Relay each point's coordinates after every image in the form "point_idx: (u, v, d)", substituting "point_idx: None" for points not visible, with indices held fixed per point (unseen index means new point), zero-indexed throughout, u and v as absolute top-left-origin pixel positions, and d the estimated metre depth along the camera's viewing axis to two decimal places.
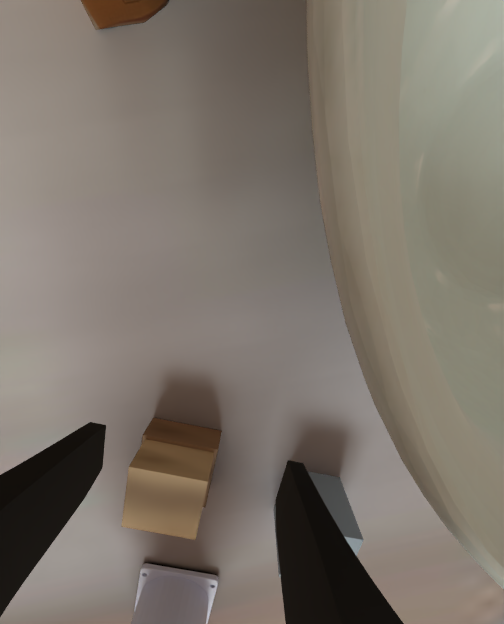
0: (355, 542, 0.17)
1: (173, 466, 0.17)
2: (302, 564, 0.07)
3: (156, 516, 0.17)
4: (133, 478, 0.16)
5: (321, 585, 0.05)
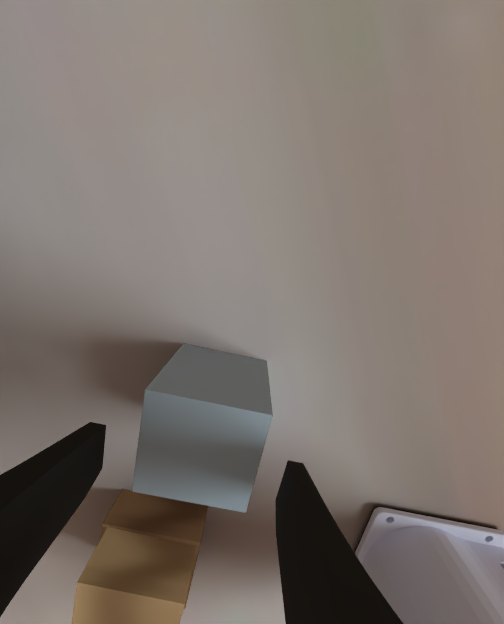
0: (153, 402, 0.09)
1: None
2: (302, 564, 0.07)
3: None
4: None
5: (321, 585, 0.05)
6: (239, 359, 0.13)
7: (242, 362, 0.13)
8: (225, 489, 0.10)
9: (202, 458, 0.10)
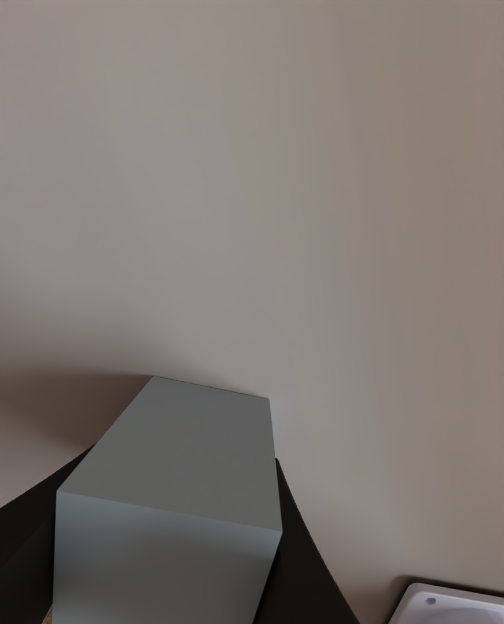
0: (72, 510, 0.05)
1: None
2: None
3: None
4: None
5: (278, 578, 0.05)
6: (230, 400, 0.09)
7: (234, 406, 0.09)
8: None
9: (164, 594, 0.06)
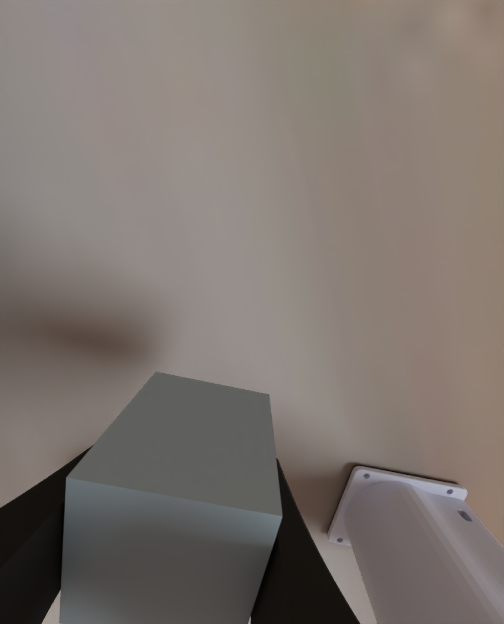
0: (81, 496, 0.05)
1: None
2: None
3: None
4: None
5: (278, 578, 0.05)
6: (231, 395, 0.10)
7: (235, 401, 0.09)
8: (207, 620, 0.06)
9: (168, 578, 0.06)
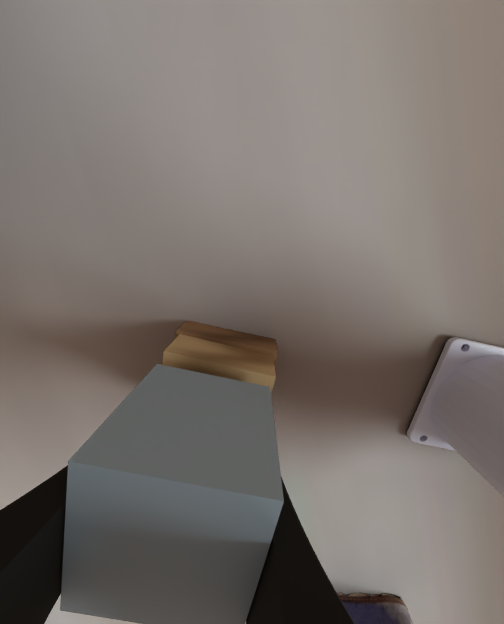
0: (83, 480, 0.05)
1: None
2: None
3: None
4: None
5: (272, 577, 0.05)
6: (232, 387, 0.10)
7: (236, 392, 0.09)
8: (208, 607, 0.06)
9: (170, 564, 0.06)
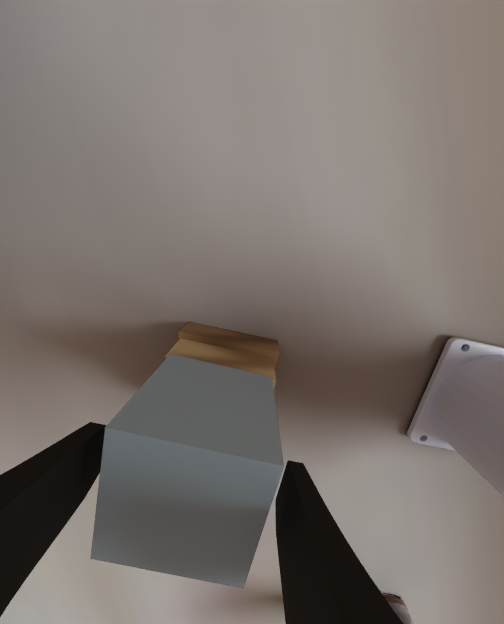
0: (116, 444, 0.07)
1: None
2: (303, 564, 0.07)
3: None
4: None
5: (321, 585, 0.05)
6: (238, 375, 0.11)
7: (242, 380, 0.10)
8: (216, 558, 0.07)
9: (185, 519, 0.07)
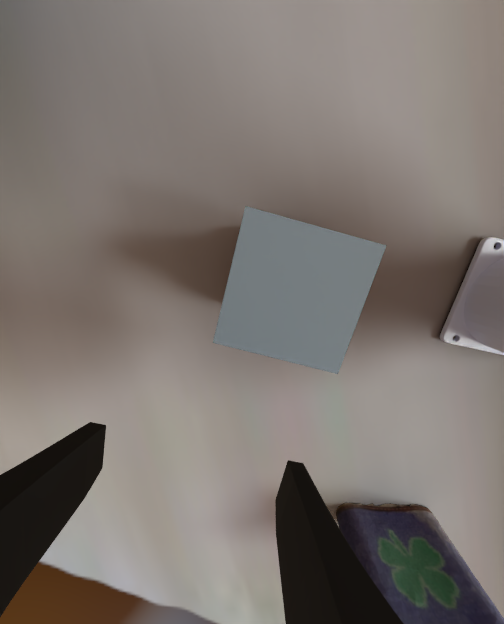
0: (252, 223, 0.08)
1: None
2: (302, 564, 0.07)
3: None
4: None
5: (321, 585, 0.05)
6: None
7: None
8: (319, 342, 0.09)
9: (299, 300, 0.09)
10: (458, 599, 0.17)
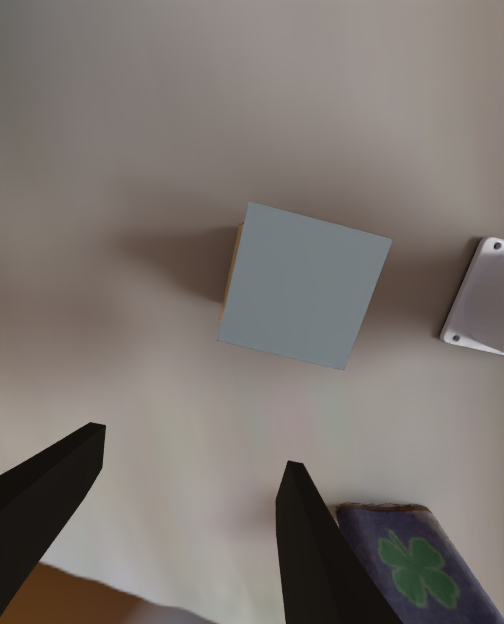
0: (256, 218, 0.08)
1: None
2: (302, 564, 0.07)
3: None
4: None
5: (321, 585, 0.05)
6: None
7: None
8: (325, 339, 0.09)
9: (304, 296, 0.09)
10: (458, 599, 0.17)
